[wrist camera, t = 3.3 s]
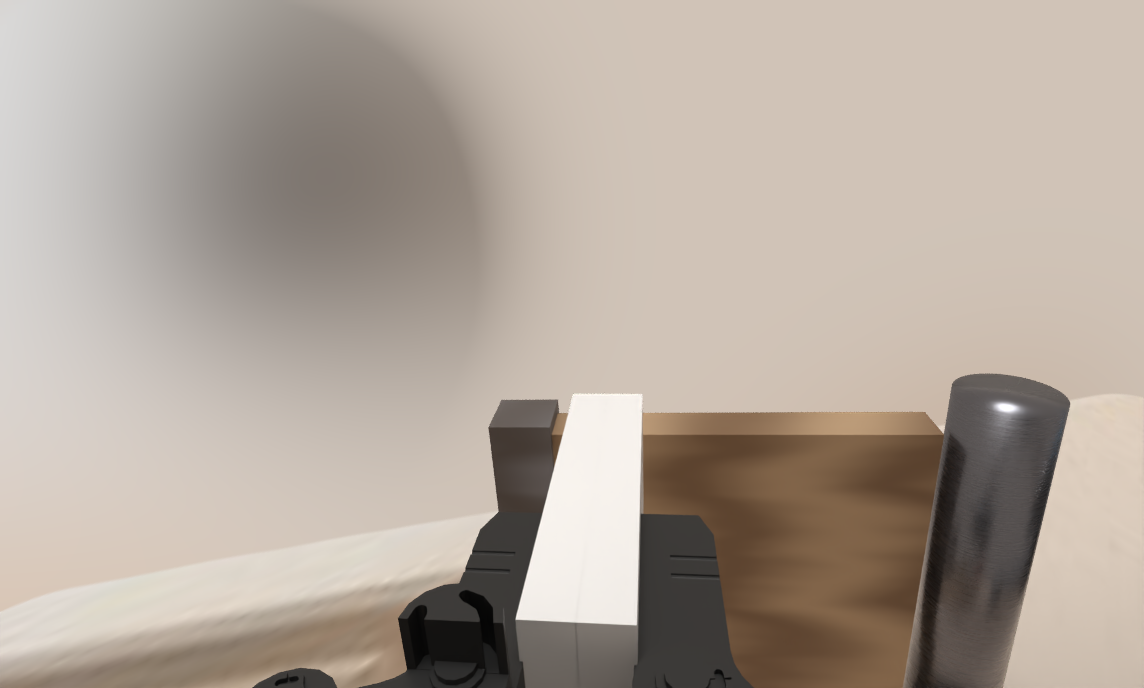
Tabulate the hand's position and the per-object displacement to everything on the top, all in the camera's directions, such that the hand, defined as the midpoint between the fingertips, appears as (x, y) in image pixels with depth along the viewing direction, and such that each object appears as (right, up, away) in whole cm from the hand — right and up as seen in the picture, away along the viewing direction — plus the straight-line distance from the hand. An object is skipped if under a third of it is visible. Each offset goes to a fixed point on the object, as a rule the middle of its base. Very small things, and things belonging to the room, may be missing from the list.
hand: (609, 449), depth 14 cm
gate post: (+13, -14, +11) cm, 22 cm away
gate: (+4, -13, +12) cm, 18 cm away
